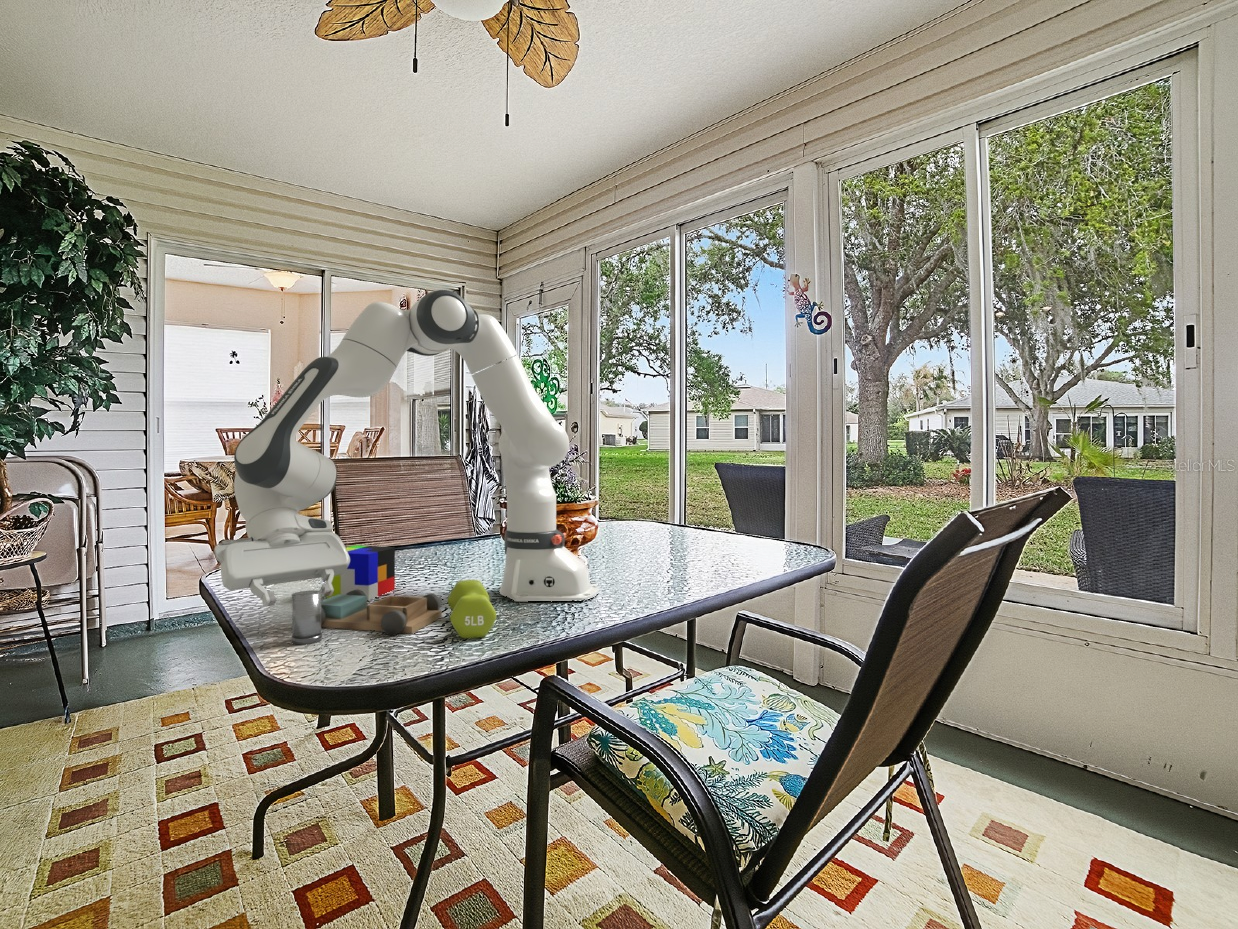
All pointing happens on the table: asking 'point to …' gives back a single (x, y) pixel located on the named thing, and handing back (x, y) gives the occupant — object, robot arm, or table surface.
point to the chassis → (380, 612)
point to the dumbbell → (471, 609)
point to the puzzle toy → (367, 571)
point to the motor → (306, 617)
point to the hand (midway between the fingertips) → (300, 599)
